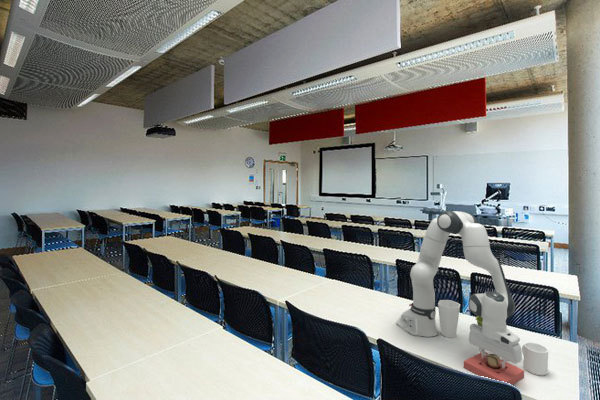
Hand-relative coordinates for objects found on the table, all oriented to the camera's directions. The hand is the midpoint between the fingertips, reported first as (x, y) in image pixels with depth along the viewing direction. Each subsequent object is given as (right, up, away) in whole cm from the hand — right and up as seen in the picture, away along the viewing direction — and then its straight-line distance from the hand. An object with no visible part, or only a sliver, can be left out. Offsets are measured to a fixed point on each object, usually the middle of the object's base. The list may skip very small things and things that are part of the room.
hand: (493, 362), depth 133 cm
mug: (+19, -4, +3) cm, 20 cm away
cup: (-3, -3, +33) cm, 33 cm away
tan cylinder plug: (0, -4, 0) cm, 4 cm away
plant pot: (+13, -3, +25) cm, 28 cm away
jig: (0, -4, 0) cm, 4 cm away
